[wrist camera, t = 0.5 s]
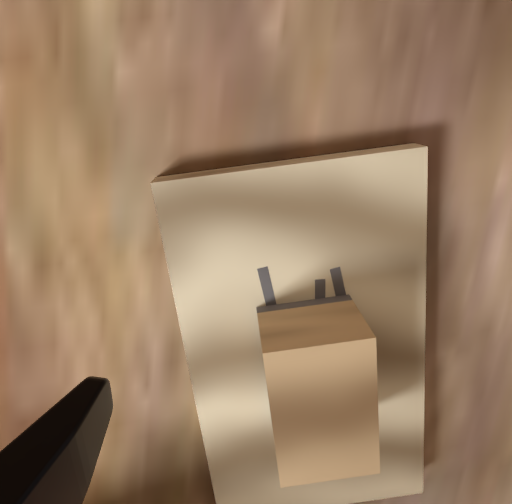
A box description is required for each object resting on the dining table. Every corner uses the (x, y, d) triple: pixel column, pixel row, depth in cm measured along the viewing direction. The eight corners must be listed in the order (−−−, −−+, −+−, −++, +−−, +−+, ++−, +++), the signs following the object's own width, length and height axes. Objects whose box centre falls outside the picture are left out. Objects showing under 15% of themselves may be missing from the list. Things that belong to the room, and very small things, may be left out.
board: (413, 472, 27) (423, 493, 25) (220, 500, 27) (220, 523, 25) (413, 142, 20) (428, 146, 19) (155, 177, 20) (150, 183, 18)
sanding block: (355, 412, 23) (380, 473, 19) (271, 424, 23) (280, 487, 19) (349, 294, 21) (376, 337, 17) (256, 307, 21) (262, 353, 17)
